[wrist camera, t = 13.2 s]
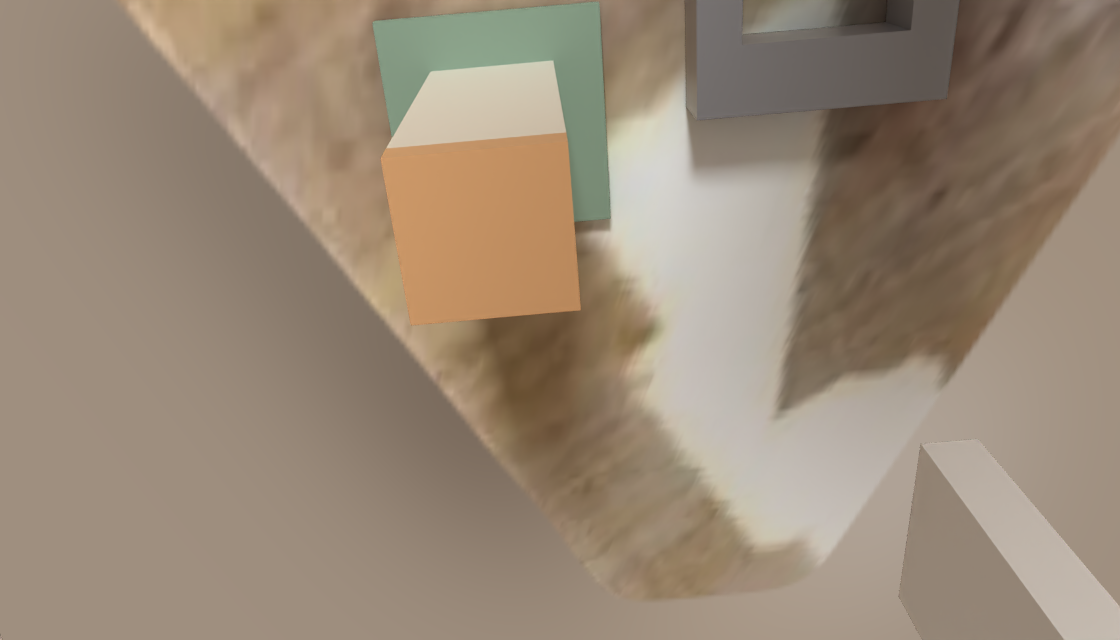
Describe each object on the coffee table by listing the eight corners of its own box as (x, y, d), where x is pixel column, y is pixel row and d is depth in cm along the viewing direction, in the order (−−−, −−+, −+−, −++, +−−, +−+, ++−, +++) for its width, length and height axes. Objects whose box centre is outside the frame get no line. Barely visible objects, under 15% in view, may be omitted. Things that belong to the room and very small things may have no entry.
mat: (375, 20, 33) (372, 22, 33) (598, 1, 33) (599, 3, 33) (410, 231, 37) (408, 236, 37) (609, 214, 37) (610, 218, 37)
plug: (430, 71, 34) (380, 158, 22) (553, 60, 34) (567, 141, 22) (448, 189, 36) (411, 325, 24) (563, 179, 36) (581, 310, 24)
